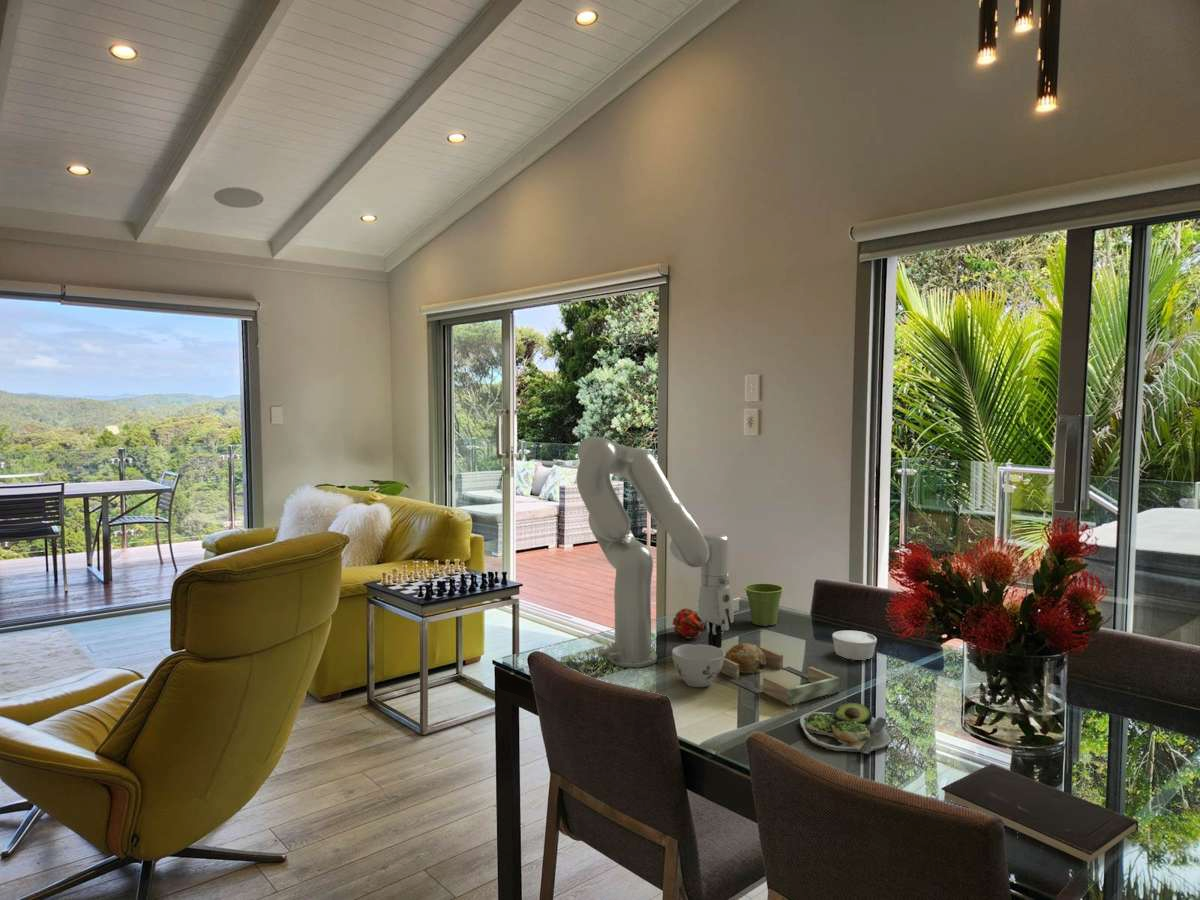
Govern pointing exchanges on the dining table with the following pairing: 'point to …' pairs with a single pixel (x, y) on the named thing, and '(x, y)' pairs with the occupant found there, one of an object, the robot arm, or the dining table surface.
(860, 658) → the ramekin
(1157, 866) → the dining table surface
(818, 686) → the beige shallow tray
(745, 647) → the bread roll
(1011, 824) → the hardcover book
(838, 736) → the avocado toast plate
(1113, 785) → the dining table surface
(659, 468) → the robot arm
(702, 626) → the dragon fruit
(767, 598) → the plant pot
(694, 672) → the teacup
